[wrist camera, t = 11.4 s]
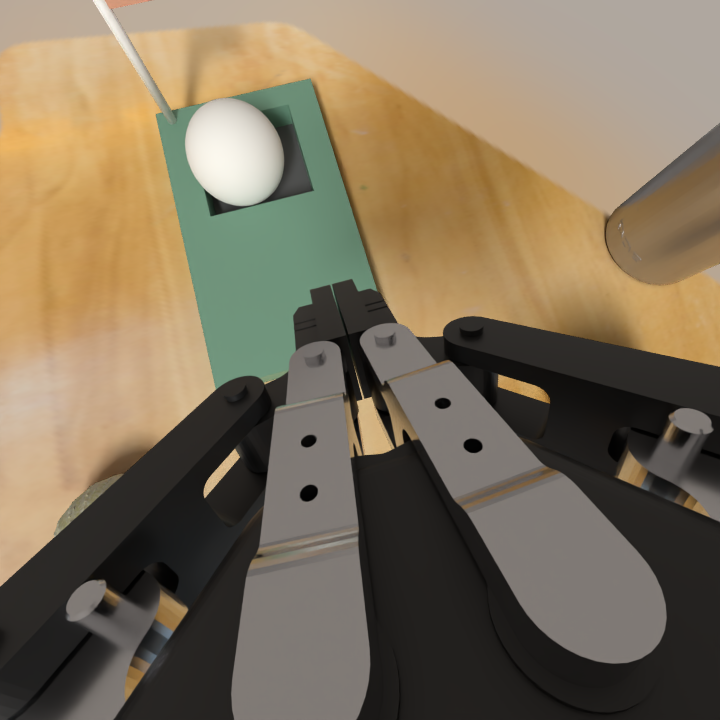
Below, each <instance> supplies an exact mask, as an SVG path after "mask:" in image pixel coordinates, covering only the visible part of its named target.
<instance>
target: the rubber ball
mask: <svg viewBox="0 0 720 720" xmlns="http://www.w3.org/2000/svg"><path fill="white" fill-rule="evenodd" d="M185 150H186V155H187V160H188V163H189V165H190V168H191V170H192V172H193V174H194V176H195V177H196V179H197V180H198V182H199V183H200V184H201V186H202V187H203V188H204V189H205V190H206V191H207V192H208V193H210V194H211V195H212V196H214V197H215V198H217V199H218V200H220V201H222V202H225V203H227V204H231V205H235V206H251V205H255V204H258V203H260V202H262V201H264V200H266V199H267V198H268V197H269V196H270V195H271V194H272V193H273V192H274V191H275V190H276V188H277V187H278V185H279V183H280V181H281V178H282V175H283V170H284V152H283V147H282V143H281V140H280V138H279V135H278V133H277V131H276V129H275V128H274V126H273V125H272V123H271V122H270V121H269V119H268V118H267V117H266V116H265V115H264V114H263V113H262V112H261V111H260V110H258V109H257V108H255V107H254V106H252V105H251V104H249V103H246V102H244V101H242V100H238V99H233V98H220V99H215V100H212V101H210V102H208V103H206V104H204V105H203V106H202V107H200V108H199V109H198V110H197V111H196V112H195V114H194V115H193V117H192V118H191V120H190V122H189V125H188V128H187V131H186V137H185Z"/></svg>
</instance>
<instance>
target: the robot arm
mask: <svg viewBox="0 0 720 720" xmlns="http://www.w3.org/2000/svg"><path fill="white" fill-rule="evenodd" d="M606 240H607V245H608V248H609V251H610V253H611V255H612V257H613V259H614V260H615V262H616V263H617V264H618V265H619V266H620V267H621V269H623V270H624V271H625V272H626V273H627V274H629V275H630V276H632V277H634V278H636V279H637V280H639V281H642V282H645V283H648V284H655V285H668V284H673V283H676V282H679V281H681V280H684V279H686V278H688V277H690V276H693V275H695V274H697V273H700V272H702V271H704V270H706V269H708V268H711V267H713V266H715V265H718V264H720V123H719V124H718V125H717V126H715V127H714V128H713V129H712V130H711V131H709V132H708V133H707V134H706V135H704V136H703V137H702V138H701V139H700V140H698V141H697V142H696V143H695V144H694V145H692V146H691V147H690V148H689V149H688V150H686V151H685V152H684V153H683V154H682V155H680V156H679V157H678V158H677V159H675V160H674V161H673V162H672V163H671V164H669V165H668V166H667V167H666V168H665V169H663V170H662V171H661V172H660V173H659V174H657V175H656V176H655V177H654V178H653V179H651V180H650V181H649V182H647V183H646V184H645V185H644V186H643V187H642V188H640V189H639V190H638V191H637V192H636V193H634V194H633V195H632V196H631V197H630V198H629V199H627V200H626V201H625V202H624V203H622V204H621V205H620V206H619V207H618V208H617V209H615V211H614V212H613V213H612V215H611V216H610V218H609V221H608V223H607V228H606ZM332 288H333V292H334V295H333V292H332V289H331V286H330V285H326V286H322V287H319V288H315V289H311V290H310V294H311V300H312V304H309V305H305V306H302V307H298V309H297V310H296V312H295V314H294V315H293V322H294V331H295V332H294V334H295V347H296V351H295V352H294V353H293V355H292V356H291V358H290V361H289V371H288V372H287V373H285V374H284V375H283V376H281V377H279V378H277V379H276V380H274V381H272V382H269V383H267V384H265V385H264V383H263V381H262V380H261V379H260V378H259V377H256V376H242V377H238V378H235V379H232V380H230V381H228V382H226V383H224V384H223V385H221V386H220V387H219V388H218V389H216V390H215V391H214V392H213V393H212V394H211V395H210V396H209V397H208V398H207V399H205V400H204V401H203V402H202V403H201V404H200V405H199V406H198V407H197V408H196V409H195V410H193V411H192V412H191V413H190V414H189V415H188V416H187V417H186V418H185V419H184V420H182V421H181V422H180V423H179V424H178V425H177V426H176V427H175V428H174V429H173V430H171V431H170V432H169V433H168V434H167V435H166V436H165V437H164V438H163V439H162V440H161V441H159V442H158V443H157V444H156V445H155V446H154V447H153V448H152V449H151V450H150V451H148V452H147V453H146V454H145V455H144V456H143V457H142V458H141V459H140V460H139V461H138V462H136V463H135V464H134V465H133V466H132V467H131V468H130V469H129V470H128V471H127V472H125V473H124V474H123V475H122V476H121V477H120V478H119V479H118V480H117V481H116V482H115V483H113V484H112V485H111V486H110V487H109V488H108V489H107V490H106V491H105V492H104V493H102V494H101V495H100V496H99V497H98V498H97V499H96V500H95V501H94V502H93V503H92V504H90V505H89V506H88V507H87V508H86V509H85V510H84V511H83V512H82V513H81V514H79V515H78V516H77V517H76V518H75V519H74V520H73V521H72V522H71V523H70V524H69V525H67V526H66V527H65V528H64V529H63V530H62V531H61V532H60V533H59V534H58V535H56V536H55V537H54V538H53V539H52V540H51V541H50V542H49V543H48V544H47V545H46V546H44V547H43V548H42V549H41V550H40V551H39V552H38V553H37V554H36V555H35V556H33V557H32V558H31V559H30V560H29V561H28V562H27V563H26V564H25V565H24V566H23V567H21V568H20V569H19V570H18V571H17V572H16V573H15V574H14V575H13V576H12V577H10V578H9V579H8V580H7V581H6V582H5V583H4V584H3V585H2V586H1V587H0V720H720V367H718V366H713V365H708V364H703V363H699V362H694V361H689V360H684V359H679V358H675V357H670V356H665V355H660V354H656V353H651V352H646V351H641V350H637V349H632V348H627V347H622V346H617V345H613V344H608V343H603V342H598V341H594V340H589V339H584V338H579V337H575V336H570V335H565V334H560V333H556V332H551V331H546V330H541V329H536V328H532V327H527V326H522V325H517V324H513V323H508V322H503V321H498V320H494V319H489V318H484V317H476V316H471V317H463V318H459V319H456V320H453V321H451V322H450V323H448V324H447V325H446V326H445V328H444V330H443V336H441V337H416V336H414V334H413V333H412V332H411V331H410V329H409V328H408V327H406V326H404V325H401V324H398V323H397V321H396V319H395V318H394V316H393V314H392V313H391V311H390V309H389V308H388V306H387V304H386V302H385V301H384V299H383V297H382V296H381V294H380V293H379V292H377V291H375V290H373V289H371V288H370V289H366V290H362V291H358V290H357V288H356V286H355V284H354V282H353V279H349V280H345V281H341V282H338V283H334V284H332ZM334 296H335V298H334ZM335 299H336V302H335ZM336 303H337V305H336ZM337 307H338V308H337ZM354 367H355V368H354ZM355 370H356V372H355ZM356 373H357V376H358V379H359V383H360V386H361V389H362V392H363V395H364V399H365V398H369V397H372V399H373V402H374V406H375V411H376V415H377V418H378V420H379V422H380V425H381V427H382V429H383V431H384V433H385V436H386V438H387V440H388V442H389V444H390V447H391V449H392V450H391V451H389V452H386V453H383V454H376V455H365V451H364V445H363V439H362V433H361V426H360V421H359V417H358V412H359V409H358V405H357V401H359V400H362V396H361V392H360V388H359V384H358V380H357V376H356ZM498 374H499V375H503V376H506V377H509V378H513V379H516V380H519V381H523V382H526V383H529V384H532V385H535V386H538V387H540V388H542V389H543V390H544V391H545V392H546V393H547V394H548V395H549V397H550V404H548V403H545V402H542V401H539V400H536V399H533V398H530V397H527V396H524V395H521V394H518V393H515V392H512V391H508V390H505V389H502V388H499V387H498ZM234 449H236V451H237V452H238V454H239V456H240V458H239V459H238V460H237V462H236V463H235V464H234V465H233V466H232V467H231V469H230V470H229V471H228V472H227V473H226V474H225V476H224V477H223V478H222V479H221V480H220V481H219V483H218V484H217V485H216V486H215V487H214V488H213V490H212V491H211V492H210V493H209V494H208V495H207V497H206V498H204V494H203V492H204V487H205V484H206V482H207V480H208V478H209V477H210V476H211V475H212V473H213V472H214V471H215V470H216V469H217V468H218V467H219V466H220V464H221V463H222V462H223V461H224V460H225V459H226V458H227V457H228V455H229V454H230V453H231V452H232V451H233V450H234Z"/></svg>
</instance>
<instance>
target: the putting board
mask: <svg viewBox="0 0 720 720" xmlns="http://www.w3.org/2000/svg"><path fill="white" fill-rule="evenodd" d="M147 1H152V0H93V2H94V3H95V5H96V6H97V8H98V10H99V11H100V13H101V15H102V16H103V18H104V19H105V21H106V23H107V24H108V26H109V27H110V29H111V30H112V32H113V34H114V35H115V37H116V39H117V40H118V42H119V44H120V45H121V47H122V48H123V50H124V52H125V53H126V55H127V56H128V58H129V60H130V61H131V63H132V65H133V66H134V68H135V69H136V71H137V73H138V74H139V76H140V77H141V79H142V81H143V82H144V84H145V86H146V87H147V89H148V90H149V92H150V94H151V95H152V97H153V98H154V100H155V102H156V103H157V105H158V106H159V108H160V110H161V111H162V113H159V114H156V118H157V123H158V127H159V132H160V136H161V141H162V146H163V150H164V155H165V159H166V164H167V168H168V173H169V177H170V182H171V187H172V191H173V196H174V200H175V205H176V209H177V214H178V219H179V223H180V228H181V232H182V237H183V241H184V246H185V250H186V255H187V260H188V264H189V269H190V273H191V278H192V282H193V287H194V291H195V296H196V301H197V305H198V310H199V314H200V319H201V323H202V328H203V333H204V337H205V342H206V346H207V351H208V355H209V360H210V364H211V369H212V374H213V378H214V383H215V387H216V389H218V388H219V387H220V386H221V385H223V384H224V383H226V382H228V381H230V380H232V379H235V378H238V377H242V376H256V377H259V378H260V379H261V380H262V381H263V383H264V382H267V381H271V380H274V379H277V378H279V377H281V376H283V375H284V374H285V373H287V372H288V371H289V361H290V358H291V356H292V355H293V353H294V352H295V351H296V347H295V334H294V332H295V331H294V322H293V315H294V314H295V312H296V310H297V309H298V307H302V306H305V305H309V304H312V300H311V294H310V290H311V289H315V288H319V287H322V286H326V285H330V286H331V289H332V292H333V288H332V284H334V283H338V282H341V281H345V280H349V279H353V282H354V284H355V286H356V288H357V290H358V291H362V290H366V289H370V288H371V289H373V290H375V291H377V289H376V285H375V282H374V279H373V276H372V273H371V270H370V266H369V263H368V260H367V257H366V254H365V251H364V247H363V244H362V241H361V238H360V235H359V231H358V228H357V225H356V222H355V219H354V216H353V212H352V209H351V206H350V203H349V200H348V197H347V193H346V190H345V187H344V184H343V181H342V178H341V174H340V171H339V168H338V165H337V162H336V158H335V155H334V152H333V149H332V146H331V143H330V139H329V136H328V133H327V130H326V127H325V124H324V120H323V117H322V114H321V111H320V108H319V104H318V101H317V98H316V95H315V92H314V89H313V85H312V82H311V79H307V80H302V81H298V82H294V83H289V84H285V85H281V86H276V87H272V88H267V89H263V90H259V91H254V92H250V93H246V94H241V95H237V96H233V97H228V98H233V99H238V100H242V101H244V102H246V103H249V104H251V105H252V106H254V107H255V108H257V109H258V110H260V111H261V112H262V113H263V114H264V115H265V116H266V117H267V118H268V119H269V121H270V122H271V123H272V125H273V126H274V128H275V129H276V131H277V133H278V135H279V138H280V140H281V143H282V147H283V152H284V170H283V175H282V178H281V181H280V183H279V185H278V187H277V188H276V190H275V191H274V192H273V193H272V194H271V195H270V196H269V197H268V198H267V199H266V200H264V201H262V202H260V203H258V204H255V205H251V206H235V205H231V204H227V203H225V202H222V201H220V200H218V199H217V198H215V197H214V196H212V195H211V194H210V193H208V192H207V191H206V190H205V189H204V188H203V187H202V186H201V184H200V183H199V182H198V180H197V179H196V177H195V176H194V174H193V172H192V170H191V168H190V165H189V163H188V160H187V155H186V150H185V137H186V131H187V128H188V125H189V122H190V120H191V118H192V117H193V115H194V114H195V112H196V111H197V110H198V109H199V108H200V107H202V106H203V105H204V104H206V103H202V104H198V105H194V106H189V107H185V108H181V109H176V110H172V111H171V109H170V107H169V106H168V104H167V102H166V100H165V99H164V97H163V95H162V94H161V92H160V90H159V89H158V87H157V85H156V83H155V82H154V80H153V78H152V77H151V75H150V73H149V72H148V70H147V68H146V66H145V65H144V63H143V61H142V60H141V58H140V56H139V54H138V53H137V51H136V49H135V48H134V46H133V44H132V43H131V41H130V39H129V37H128V36H127V34H126V32H125V31H124V29H123V27H122V26H121V24H120V22H119V20H118V19H117V17H116V16H115V14H114V12H113V10H112V9H113V8H118V7H123V6H128V5H132V4H137V3H142V2H147ZM207 103H208V102H207ZM333 295H334V292H333ZM334 298H335V296H334ZM335 302H336V299H335ZM336 305H337V303H336ZM337 308H338V307H337Z"/></svg>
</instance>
